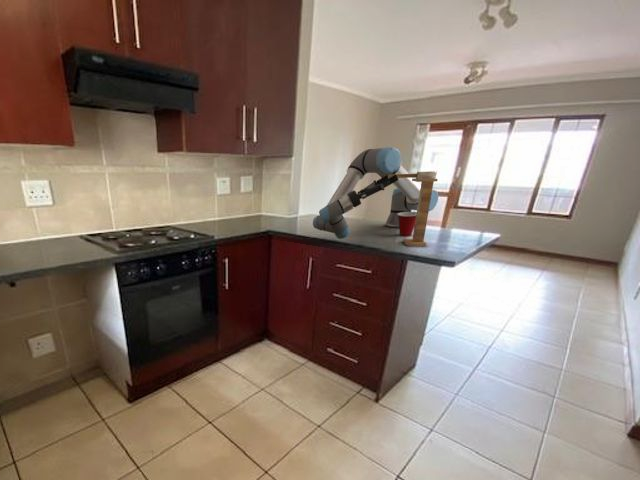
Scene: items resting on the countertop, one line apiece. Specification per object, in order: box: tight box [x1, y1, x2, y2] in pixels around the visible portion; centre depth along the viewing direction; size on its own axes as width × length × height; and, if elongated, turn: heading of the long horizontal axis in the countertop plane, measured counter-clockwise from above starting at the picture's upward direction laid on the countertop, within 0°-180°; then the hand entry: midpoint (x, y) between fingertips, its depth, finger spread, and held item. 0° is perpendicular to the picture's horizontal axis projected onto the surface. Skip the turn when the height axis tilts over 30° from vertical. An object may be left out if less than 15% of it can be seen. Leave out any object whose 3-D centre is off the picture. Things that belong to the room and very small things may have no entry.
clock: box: [388, 170, 438, 179], centre depth 152 cm, size 8×20×3 cm, turn 78°
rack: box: [402, 178, 439, 247], centre depth 157 cm, size 10×8×30 cm
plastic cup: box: [397, 211, 417, 237], centre depth 180 cm, size 11×11×12 cm
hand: (394, 176), depth 154 cm, fingers open, 13 cm apart
